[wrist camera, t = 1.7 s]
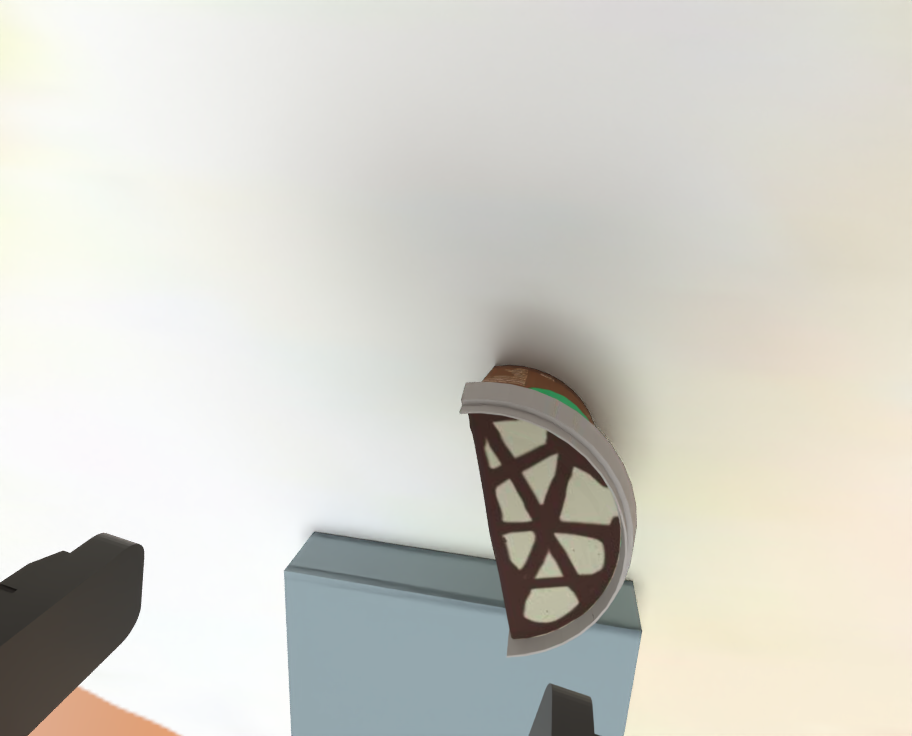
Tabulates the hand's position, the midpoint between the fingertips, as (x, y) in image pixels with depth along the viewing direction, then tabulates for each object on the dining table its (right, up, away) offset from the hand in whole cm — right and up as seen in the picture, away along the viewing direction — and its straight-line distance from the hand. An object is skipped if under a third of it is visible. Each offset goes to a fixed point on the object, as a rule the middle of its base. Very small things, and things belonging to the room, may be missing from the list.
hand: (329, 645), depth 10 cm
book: (+3, -14, +26) cm, 30 cm away
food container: (+8, +1, +21) cm, 23 cm away
